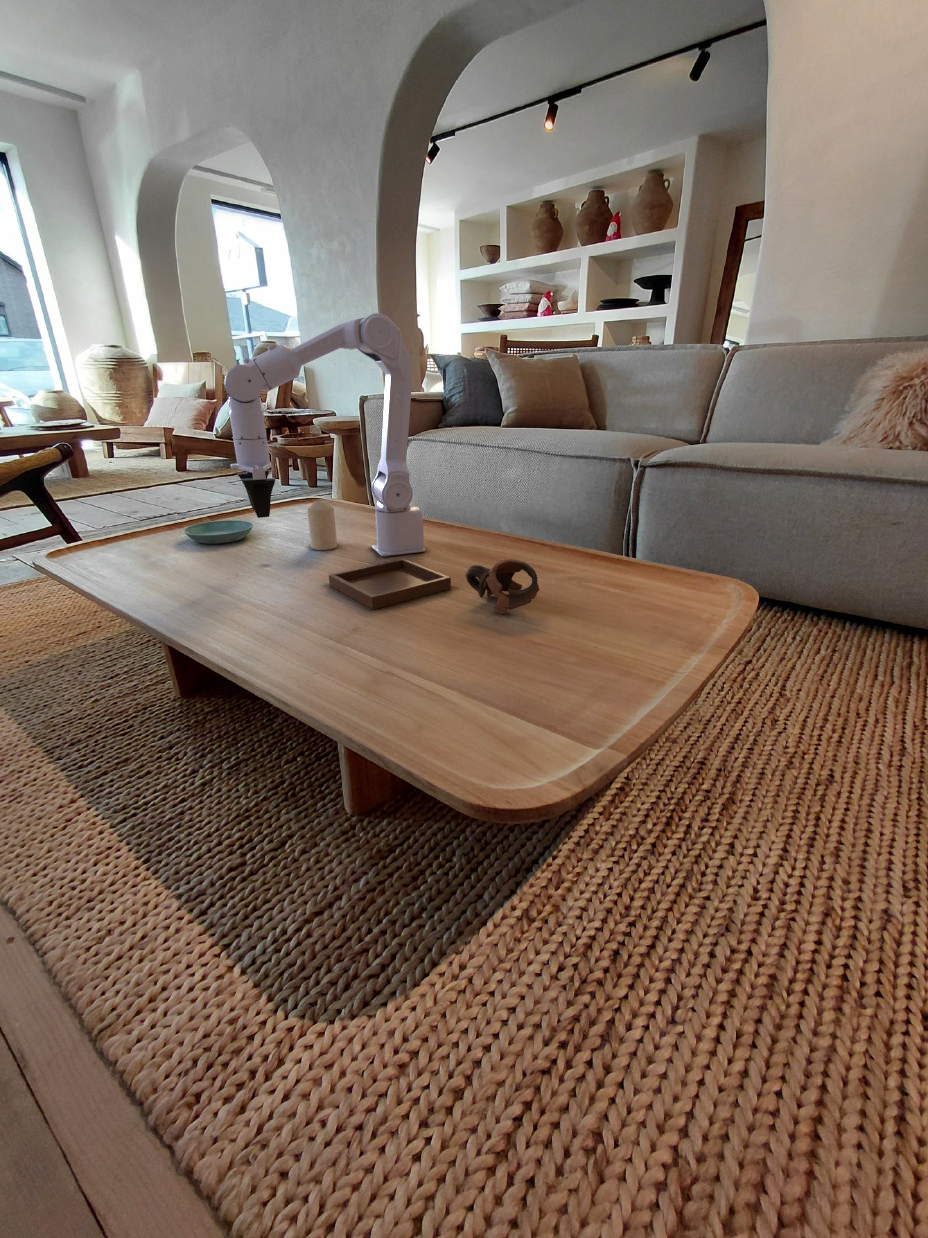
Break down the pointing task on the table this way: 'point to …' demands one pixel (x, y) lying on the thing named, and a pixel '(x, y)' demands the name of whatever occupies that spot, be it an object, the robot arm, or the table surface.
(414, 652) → the table surface
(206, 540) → the saucer
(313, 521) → the candle
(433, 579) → the tray
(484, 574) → the leather belt
